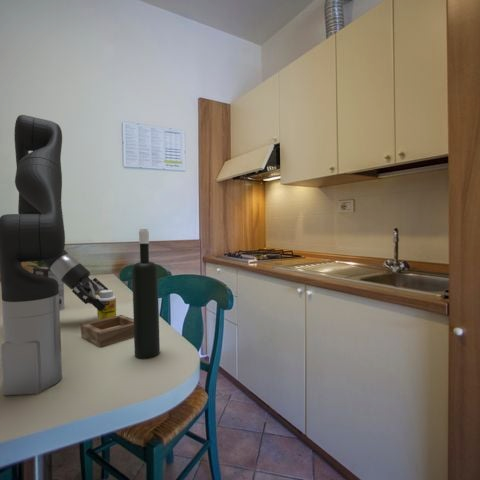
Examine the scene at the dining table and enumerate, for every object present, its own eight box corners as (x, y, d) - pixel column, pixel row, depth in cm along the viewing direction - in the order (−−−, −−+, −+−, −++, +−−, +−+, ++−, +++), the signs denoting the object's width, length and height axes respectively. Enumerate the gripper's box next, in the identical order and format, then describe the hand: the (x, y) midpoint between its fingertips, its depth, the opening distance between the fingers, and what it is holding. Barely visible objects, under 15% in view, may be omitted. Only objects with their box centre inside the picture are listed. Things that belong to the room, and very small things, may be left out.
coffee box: (34, 310, 116) (32, 267, 115) (51, 306, 122) (49, 265, 121) (48, 313, 112) (46, 269, 111) (65, 308, 118) (63, 266, 117)
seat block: (142, 334, 88) (142, 322, 88) (100, 347, 79) (100, 333, 79) (121, 326, 96) (121, 314, 95) (81, 336, 87) (80, 324, 86)
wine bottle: (150, 347, 78) (147, 229, 77) (164, 352, 74) (161, 228, 73) (129, 354, 74) (126, 229, 72) (143, 361, 70) (139, 229, 69)
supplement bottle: (99, 326, 96) (98, 293, 95) (96, 321, 101) (95, 290, 100) (118, 322, 99) (117, 291, 99) (114, 318, 104) (113, 288, 103)
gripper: (67, 265, 91) (108, 302, 93) (88, 260, 105) (123, 292, 107) (49, 283, 91) (91, 320, 92) (72, 276, 105) (108, 308, 107)
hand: (108, 305), depth 100 cm, fingers open, 8 cm apart
